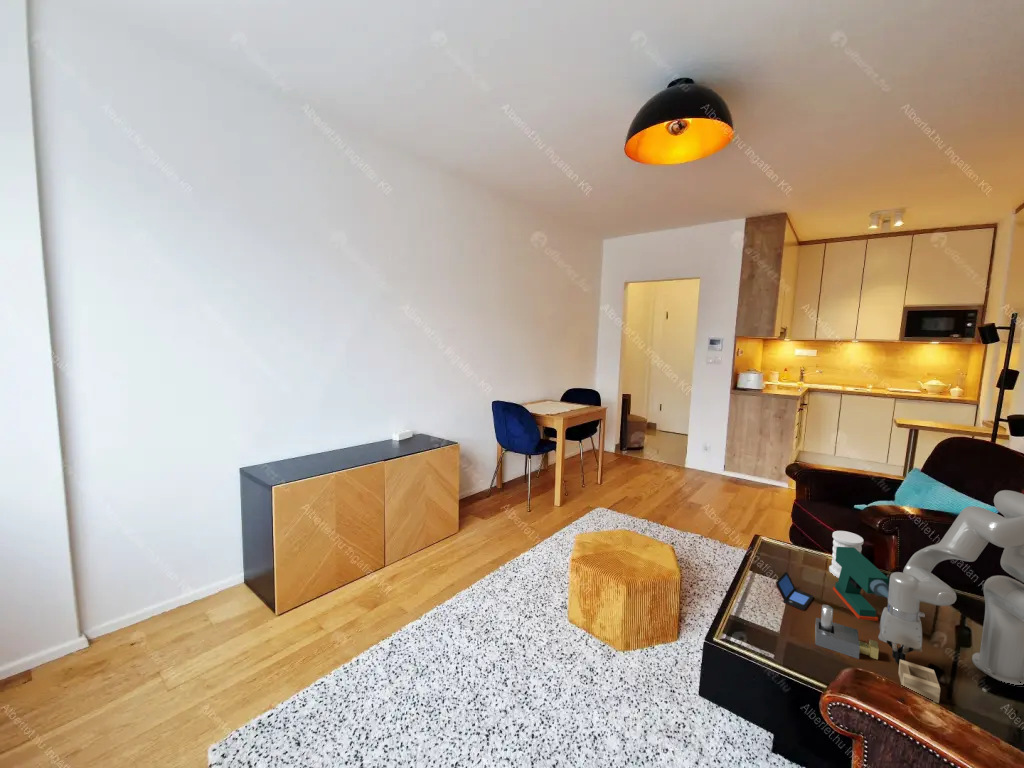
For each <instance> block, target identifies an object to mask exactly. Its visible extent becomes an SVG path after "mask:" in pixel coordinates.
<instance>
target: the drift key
mask: <svg viewBox="0 0 1024 768" xmlns="http://www.w3.org/2000/svg"><path fill="white" fill-rule="evenodd" d="M833 634H834V633H833ZM859 644H860V650H859V654H862V655H866V656H869V658H872V659H875V660H878V659H879V644H878V641H877V640H873V639H869V642H868V643H867V642H864V641H860V640H859Z"/></svg>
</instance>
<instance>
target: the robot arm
mask: <svg viewBox="0 0 1024 768" xmlns="http://www.w3.org/2000/svg"><path fill="white" fill-rule="evenodd" d="M993 503H994V504H993V505H994V507H995V508H996V509H997V511H998V512H999V513H1000V514H1001V515H1000V514H998V513H996V512H994V511H991V510H989V509H986V508H984V507H981V506H972V505H971V506H966V507H965V508H963V509H962V510H961V511H960V512H959V514H958V516H957V517H956V518H955V520H954V521H953V522H952V525H951V526H950V527H949V529H948V530H947V531H946V533H945V534H944V536H943V537H942V539H941V540H940V541H939V542H937V543H935V544H931V545H927V546H926V547H924V548H921V549H919V550H918V551H916V552H914V554H912V556H911V557H910V558H909V560H908V561H907V563H906V565H905V566H904V568H903V571H902V572H900V571H895V572H892V573H891V574H890V576H889V584H888V586H889V592H888V598H887V606H885V607H884V608H883V609H882V612H881V616H880V620H879V634H878V637H877V638H878V640H879V641H882V642H884V643H886V644H887V645H888V646H889V647H890V648H891V649H892V653H891V655H892V658H893V659H894V660H895V664H896V663H897V664H898V663H899V661H900V659H901V660H904V661H906V655H907V654H908V653H911V652H920V653H922V652H923V649H922V648H923V628H922V627H923V626H922V620H921V618H926V617H925V615H926V614H925V613H924V612H921V611H920V603H924V604H925V603H926V604H930V605H934V606H938V607H939V606H941V607H947V606H951V605H953V604H955V602H956V601H957V594H956V592H955V591H954V589H953V588H952V587H951V586H950V585H948V584H947V583H946V582H944V581H943V580H941V579H940V578H939V577H938V576H936V575H935V574H933V573H932V571H933V570H934V568H935V567H936V566H937V565H938V564H939V563H941V562H943V561H947V560H957V561H958V560H959V561H964V562H970V563H971V562H975V561H976V560H977V559H978V557H980V555H981V553H982V552H983V551H984V549H985V548H986V546H988V544H989V543H991V544H993V545H995V546H997V547H998V548H1003V552H1002V554H1001V558H1000V566H1001V568H1002V570H1004V572H1006V573H1007V574H1009V575H1010V576H1012V577H1013V578H1012V577H1009V576H1006V575H992V576H990V577H988V578H987V579H986V580H985V582H984V584H983V589H982V590H983V595H984V596H983V597H984V603H985V605H984V606H985V607H984V618H983V619H984V620H983V627H982V635H981V642H980V650H979V651H978V652H975V653H973V654H972V656H971V657H972V658H971V661H972V663H973V664H974V666H975V667H976V668H977V669H979V671H982V672H983V673H984V674H986V675H987V676H989V677H991V678H993V679H995V680H997V681H999V682H1001V681H1002V683H1004V682H1005V683H1004V684H1007V683H1010V684H1009V685H1011V684H1014V685H1013V686H1015V685H1023V684H1024V493H1021V492H1018V491H1015V490H1008V489H1004V490H999V491H998V492H997V493H996V494H995V495H994V498H993ZM1002 515H1003V516H1002ZM1014 578H1015V579H1014ZM898 645H900V646H899V647H898ZM1020 682H1021V683H1020Z"/></svg>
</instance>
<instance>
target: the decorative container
mask: <svg viewBox="0 0 1024 768" xmlns="http://www.w3.org/2000/svg"><path fill="white" fill-rule="evenodd" d="M831 536H832V538H833V540H832V545H833V546H832V554H831V556H832V557H831V558H832V559H831V565H829V567H828V571H829V574H831V573H832V574H833V576H834V577H835V576H836V578H837V579H839V576H840V572H841V568H842V567H841V566H840V565H839V564H838V563H837V562H836V547H853V548H855V549H856V550H857V551H859V552H860V553H861V554H862V549H863V548H862V545H864V538H863V537H862V536H861V535H859V534H857V533H853V532H850V531H846V530H836V531H833V532H832V535H831ZM832 574H831V575H832Z"/></svg>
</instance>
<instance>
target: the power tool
mask: <svg viewBox="0 0 1024 768" xmlns="http://www.w3.org/2000/svg"><path fill="white" fill-rule="evenodd" d="M836 562H837V563H838V564H839V565H840V566H841V567H842V568H841V572H840V576H839V578H838V580H837V582H835V585H834V586H832V591H834V592H835V594H836V595H837V596H838V597H839V598H840V599H841V600H842V602H843V603H844V604H845V605H846V606H847V608H848V609H849V610H850V611H851V612H852V613H853V614H854V616H855V617H856V618H857V620H863V621H865V620H866V621H875V622H878V621H879V617H878V616H877V610H876V609H875V607H874V606H872V605H871V603H869V601H867V599H866V598H865V597H864V596H863V595H862V594H861V592H862V590H863V591H864V592H865V593H866V594H871V595H876V596H879V597H885V598H886V599H888V592H889V580H890V577H888V576H887V575H885V573H883V572H882V570H880V569H879V568H878V567H877V566H875V564H873V563H872V562H871V561H870V560H869V559H868V558H867V557H865V556H864V555H863V554H862V552H861V553H860V552H859V551H857V550H856V549H855V548H853V547H836Z"/></svg>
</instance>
